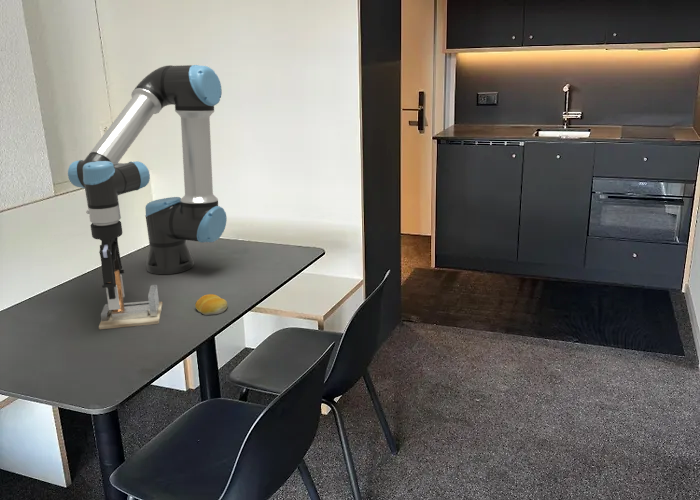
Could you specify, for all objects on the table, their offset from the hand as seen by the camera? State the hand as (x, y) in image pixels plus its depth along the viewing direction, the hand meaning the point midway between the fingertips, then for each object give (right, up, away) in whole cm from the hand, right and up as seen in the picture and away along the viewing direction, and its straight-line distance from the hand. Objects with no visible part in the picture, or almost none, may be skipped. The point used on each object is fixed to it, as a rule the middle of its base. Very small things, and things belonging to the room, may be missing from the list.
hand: (116, 303), depth 173 cm
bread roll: (+24, -3, +6) cm, 25 cm away
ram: (+4, -3, +2) cm, 5 cm away
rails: (+2, -3, +1) cm, 4 cm away
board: (+4, -4, +2) cm, 5 cm away
